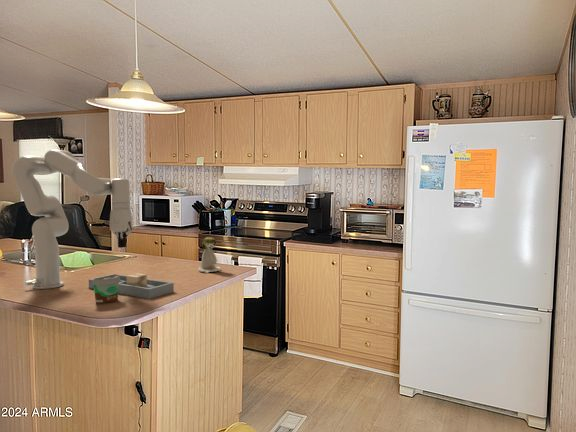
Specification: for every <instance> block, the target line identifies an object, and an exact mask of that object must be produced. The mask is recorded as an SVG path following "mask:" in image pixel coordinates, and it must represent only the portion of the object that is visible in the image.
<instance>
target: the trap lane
mask: <svg viewBox="0 0 576 432" xmlns="http://www.w3.org/2000/svg"><path fill="white" fill-rule="evenodd" d="M114 274H115V273H112V274H107V275H104V276H98V277H93V278H92V277H91V278H89V279H88V288H89V289H92V290H94V285H92V284H93V279H96V280H101V279H103V278H108V277H113V276H114ZM116 274H117V273H116ZM117 275H119V277H120V280H121V281H120V282H119V286H118V294H121V295H125V296H126V295H127V296H132V297H138V298H142V299H143V298H144V299H148V300H149V299H154V298H157V297H160V296H163V295H167V294H170V293H174V291H175V290H174V289H175V288H174V285H175V283H174V282H170V281H165V280H159V279H158V280H157V279H150V278H147V286H144V287H138V286H132V285H127V278H126V276H127V275H126V274H125V275H124V274H117Z"/></svg>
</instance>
